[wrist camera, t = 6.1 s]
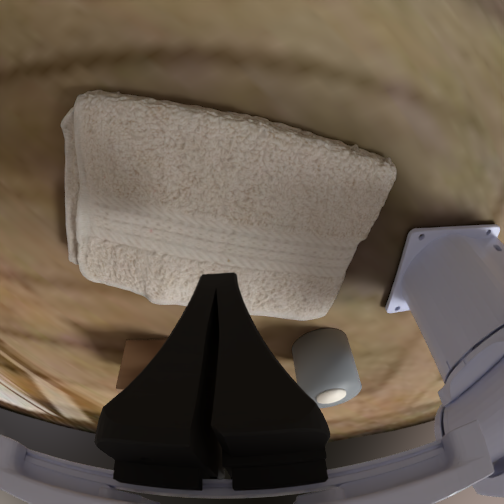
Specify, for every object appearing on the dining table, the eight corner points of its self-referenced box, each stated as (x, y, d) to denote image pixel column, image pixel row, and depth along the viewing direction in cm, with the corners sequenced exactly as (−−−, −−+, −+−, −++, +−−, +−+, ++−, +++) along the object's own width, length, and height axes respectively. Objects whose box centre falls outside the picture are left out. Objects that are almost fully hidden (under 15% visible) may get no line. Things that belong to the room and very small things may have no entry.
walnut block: (182, 337, 24) (177, 393, 20) (194, 369, 27) (191, 419, 23) (126, 338, 24) (115, 391, 20) (144, 369, 27) (137, 416, 23)
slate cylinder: (352, 325, 25) (369, 377, 21) (341, 357, 28) (353, 404, 24) (294, 331, 24) (304, 387, 20) (289, 363, 28) (297, 413, 23)
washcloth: (79, 84, 13) (50, 95, 10) (393, 150, 16) (418, 172, 14) (80, 258, 20) (64, 288, 17) (322, 296, 23) (331, 328, 21)
